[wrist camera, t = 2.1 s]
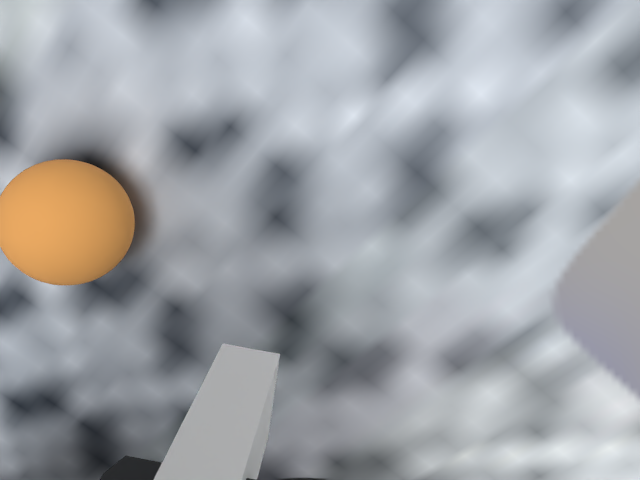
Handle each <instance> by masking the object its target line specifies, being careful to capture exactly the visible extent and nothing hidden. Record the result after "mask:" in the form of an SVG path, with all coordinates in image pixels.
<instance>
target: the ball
mask: <svg viewBox="0 0 640 480" xmlns="http://www.w3.org/2000/svg"><path fill="white" fill-rule="evenodd" d="M134 229H135V217H134V211H133V207H132V204H131V201H130V199H129V197H128V195H127V193H126V192H125V190H124V189H123V187H122V186H121V185H120V184H119V183H118V182H117V181H116V180H115V179H114V178H113V177H112V176H111V175H110V174H108V173H107V172H105V171H103V170H102V169H100V168H98V167H96V166H94V165H91V164H89V163H85V162H81V161H77V160H68V159H64V160H51V161H46V162H42V163H39V164H36V165H34V166H32V167H30V168H28V169H26V170H24V171H23V172H21V173H20V174H19V175H17V176H16V177H15V178H14V179H13V180H12V181H11V182H10V183H9V184H8V185H7V186H6V188H5V189H4V191H3V192H2V194H1V196H0V247H1V249H2V251H3V252H4V254H5V255H6V257H7V258H8V259H9V260H10V262H11V263H12V264H13V265H14V266H15V267H17V268H18V269H19V270H20V271H22V272H23V273H25V274H26V275H28V276H30V277H32V278H34V279H36V280H39V281H41V282H45V283H49V284H54V285H77V284H83V283H86V282H90V281H92V280H95V279H97V278H99V277H102V276H103V275H105V274H106V273H108V272H109V271H111V270H112V269H113V268H114V267H115V266H117V264H118V263H119V262H120V261H121V260H122V259H123V258H124V256H125V254H126V253H127V251H128V249H129V247H130V245H131V242H132V239H133V235H134Z"/></svg>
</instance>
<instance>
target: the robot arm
mask: <svg viewBox="0 0 640 480" xmlns="http://www.w3.org/2000/svg"><path fill="white" fill-rule="evenodd" d="M279 358H280V354H278V353H272V352H267V351H261V350H256V349H251V348H245V347H240V346H234V345H229V344H222V346H221V348H220V350H219V352H218V354H217V356H216V357H215V359H214V361H213V363H212V365H211V367H210V369H209V371H208V373H207V375H206V377H205V379H204V381H203V383H202V385H201V387H200V389H199V391H198V393H197V395H196V397H195V399H194V401H193V403H192V405H191V407H190V409H189V411H188V413H187V415H186V417H185V419H184V421H183V423H182V424H181V426H180V428H179V430H178V432H177V434H176V436H175V438H174V440H173V442H172V444H171V446H170V448H169V450H168V452H167V454H166V456H165V458H164V460H163V462H162V463H160V462H155V461H150V460H145V459H140V458H134V457H129V456H125V457H124V458H123V459H121V460H120V461H119V462H118V463H116V464H115V465H114V466H113V467H111V468H110V469H109V470H107V471H106V472H105V473H104V474H103V475H102V477H101V479H100V480H257V478H258V474H259V470H260V467H261V463H262V459H263V456H264V452H265V448H266V444H267V441H268V437H269V430H270V423H271V416H272V408H273V401H274V394H275V387H276V380H277V373H278V366H279Z"/></svg>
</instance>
